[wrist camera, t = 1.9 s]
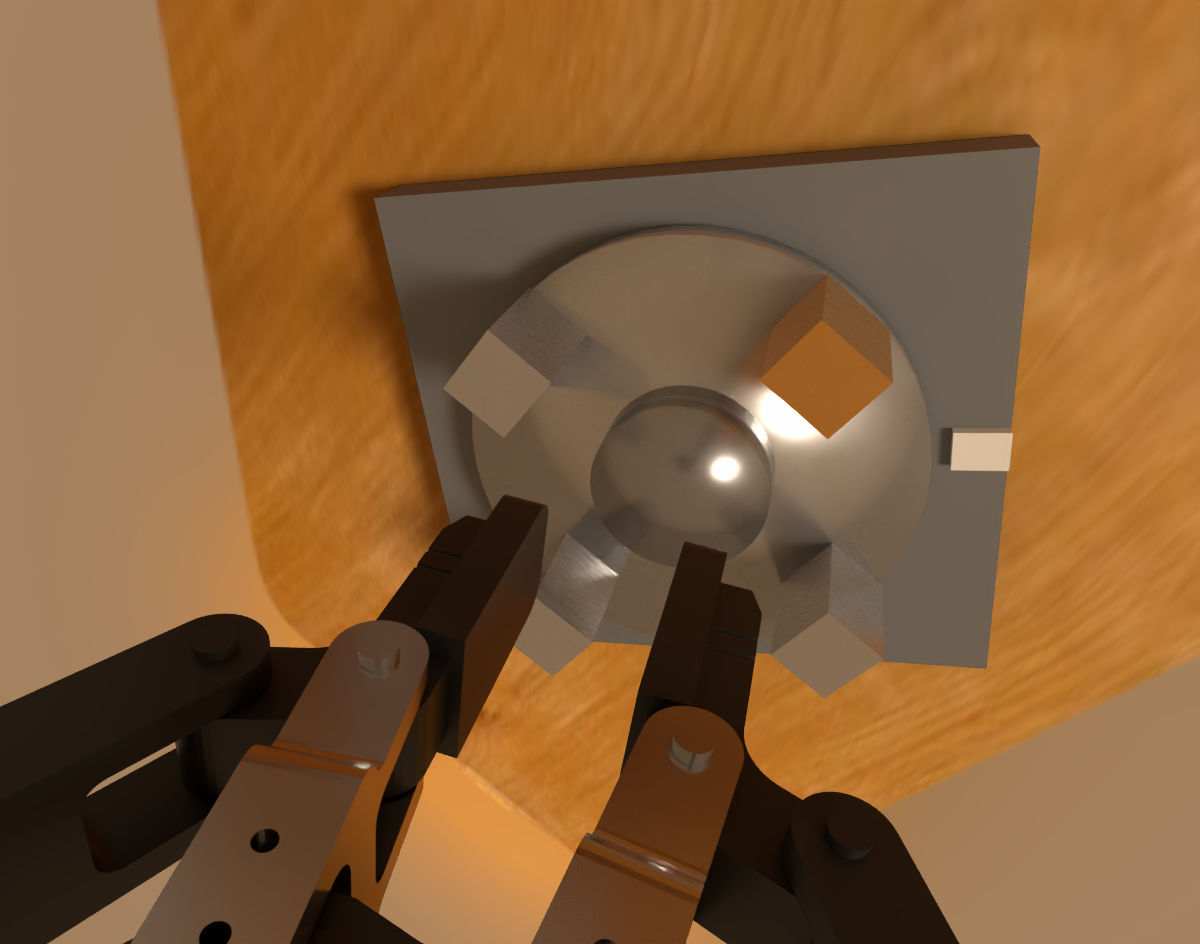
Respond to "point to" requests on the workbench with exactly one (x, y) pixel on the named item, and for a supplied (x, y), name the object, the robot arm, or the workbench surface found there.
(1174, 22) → the workbench surface
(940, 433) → the base plate
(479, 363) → the lugged metal dish
